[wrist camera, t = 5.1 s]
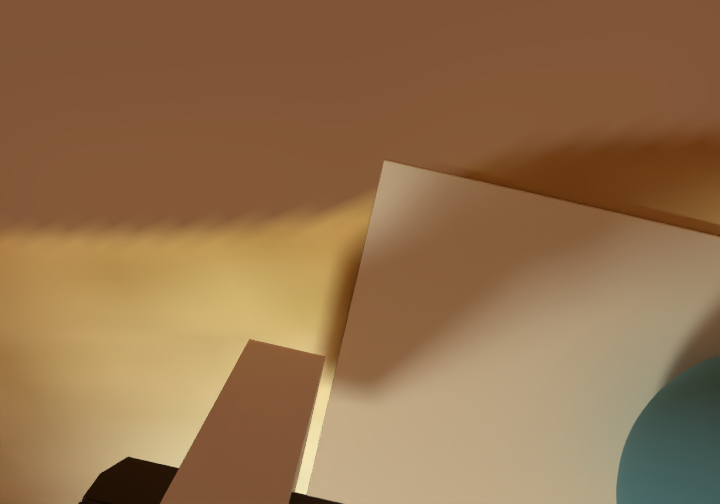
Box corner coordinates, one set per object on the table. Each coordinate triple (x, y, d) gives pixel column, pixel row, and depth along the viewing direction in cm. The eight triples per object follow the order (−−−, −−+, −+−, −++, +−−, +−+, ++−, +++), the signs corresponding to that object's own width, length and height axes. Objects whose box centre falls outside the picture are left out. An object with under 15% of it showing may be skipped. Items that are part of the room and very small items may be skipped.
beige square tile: (693, 652, 17) (696, 659, 16) (291, 561, 17) (290, 566, 16) (866, 269, 14) (872, 273, 14) (384, 158, 14) (384, 160, 14)
